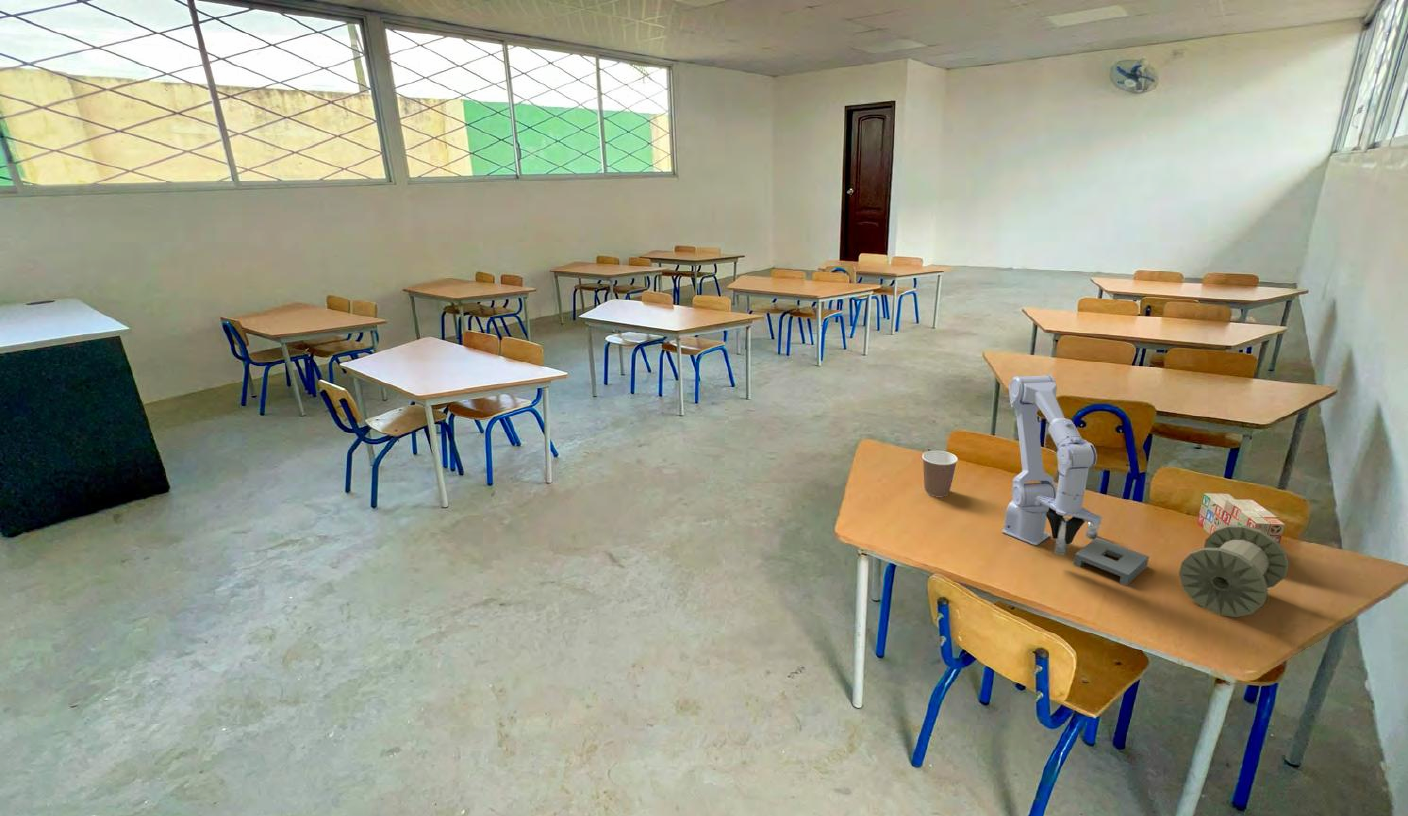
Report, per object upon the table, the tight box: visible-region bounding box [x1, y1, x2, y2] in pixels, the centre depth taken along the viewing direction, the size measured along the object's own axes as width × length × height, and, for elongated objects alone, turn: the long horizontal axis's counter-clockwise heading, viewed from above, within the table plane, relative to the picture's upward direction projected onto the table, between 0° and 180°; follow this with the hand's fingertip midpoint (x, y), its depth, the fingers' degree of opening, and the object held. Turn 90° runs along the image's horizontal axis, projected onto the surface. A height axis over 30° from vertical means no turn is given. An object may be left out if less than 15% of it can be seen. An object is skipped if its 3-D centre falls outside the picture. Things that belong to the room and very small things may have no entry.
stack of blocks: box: [1197, 492, 1286, 544], centre depth 165 cm, size 21×6×12 cm, turn 171°
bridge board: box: [1073, 536, 1150, 587], centre depth 159 cm, size 12×12×3 cm
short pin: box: [1085, 522, 1100, 540], centre depth 172 cm, size 3×3×4 cm
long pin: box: [1053, 517, 1070, 556], centre depth 157 cm, size 3×3×9 cm
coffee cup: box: [921, 450, 959, 498], centre depth 198 cm, size 10×10×12 cm
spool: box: [1178, 525, 1290, 618], centre depth 144 cm, size 16×15×15 cm
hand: (1062, 540), depth 158 cm, fingers closed on long pin, 3 cm apart
